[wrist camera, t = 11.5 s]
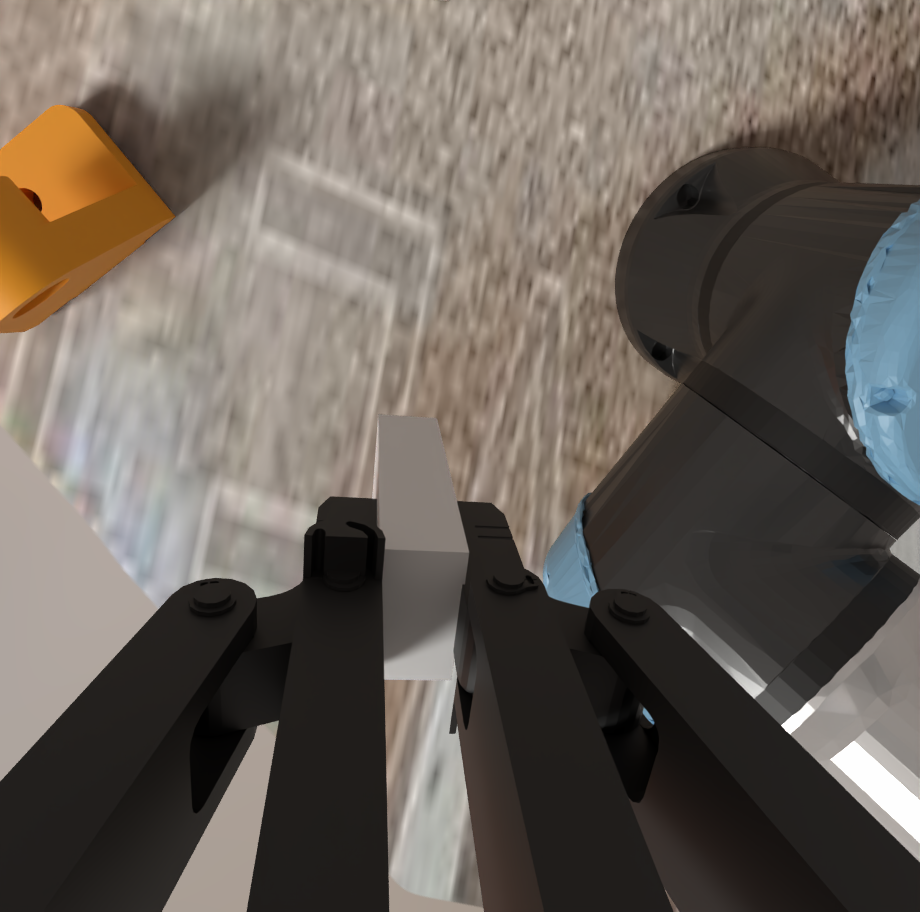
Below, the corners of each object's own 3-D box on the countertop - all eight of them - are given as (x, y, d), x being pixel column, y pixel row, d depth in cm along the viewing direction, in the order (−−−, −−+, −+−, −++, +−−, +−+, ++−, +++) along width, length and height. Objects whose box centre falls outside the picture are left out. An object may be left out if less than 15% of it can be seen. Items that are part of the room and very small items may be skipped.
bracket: (83, 100, 37) (-39, 74, 26) (179, 215, 40) (105, 236, 29) (-57, 218, 38) (-229, 241, 27) (44, 321, 41) (-74, 379, 30)
